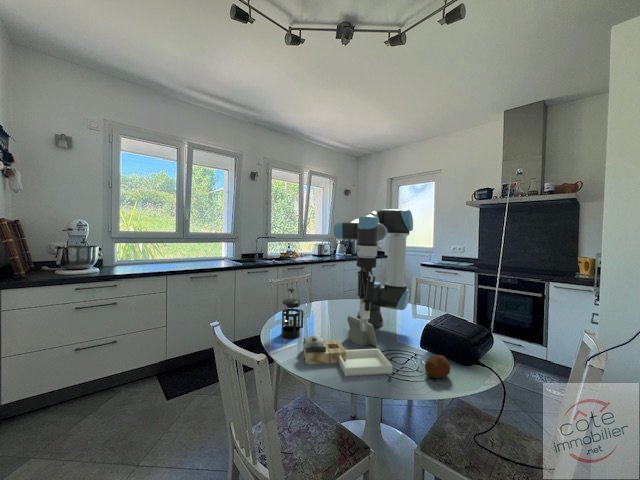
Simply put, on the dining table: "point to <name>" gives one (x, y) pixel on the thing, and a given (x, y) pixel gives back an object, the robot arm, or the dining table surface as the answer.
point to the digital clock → (361, 333)
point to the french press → (290, 326)
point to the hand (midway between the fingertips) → (364, 317)
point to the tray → (365, 363)
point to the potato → (437, 366)
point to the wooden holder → (322, 350)
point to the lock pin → (363, 321)
